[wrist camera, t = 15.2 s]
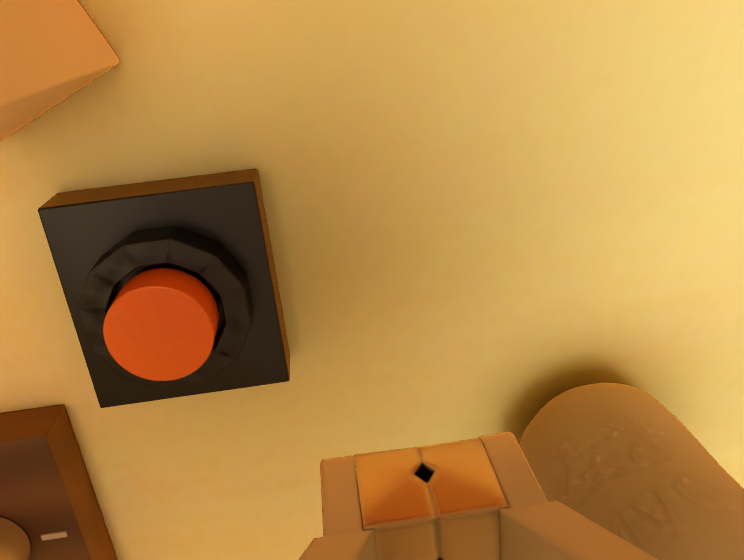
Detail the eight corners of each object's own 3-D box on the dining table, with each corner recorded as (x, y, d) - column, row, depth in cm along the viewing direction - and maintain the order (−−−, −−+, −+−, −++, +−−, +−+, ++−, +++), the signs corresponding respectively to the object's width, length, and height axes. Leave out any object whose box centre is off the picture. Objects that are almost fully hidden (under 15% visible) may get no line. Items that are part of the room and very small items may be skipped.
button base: (290, 356, 38) (289, 400, 34) (113, 381, 37) (90, 429, 33) (257, 167, 33) (252, 191, 29) (56, 193, 33) (21, 220, 29)
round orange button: (227, 351, 33) (223, 373, 31) (129, 364, 32) (118, 388, 30) (208, 261, 31) (202, 279, 29) (103, 274, 30) (90, 294, 28)
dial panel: (122, 572, 43) (109, 614, 40) (-37, 597, 42) (-62, 641, 39) (64, 404, 37) (44, 438, 34) (-118, 430, 37) (-154, 466, 34)
